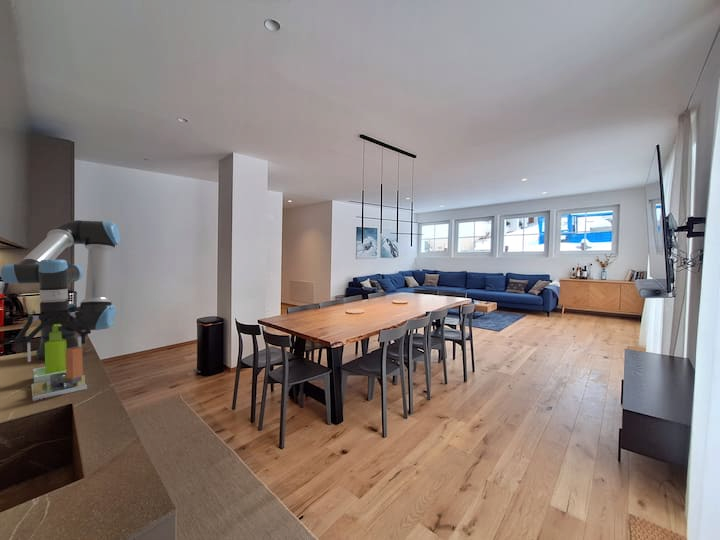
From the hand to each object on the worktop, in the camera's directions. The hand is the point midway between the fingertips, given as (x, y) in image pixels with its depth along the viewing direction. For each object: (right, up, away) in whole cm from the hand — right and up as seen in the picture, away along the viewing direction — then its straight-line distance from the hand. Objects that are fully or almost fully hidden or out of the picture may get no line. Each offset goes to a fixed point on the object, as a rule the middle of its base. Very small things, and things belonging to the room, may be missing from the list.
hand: (55, 356), depth 116 cm
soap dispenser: (0, -8, 0) cm, 8 cm away
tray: (0, -8, 0) cm, 8 cm away
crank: (+13, -7, -9) cm, 18 cm away
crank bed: (+10, -9, -9) cm, 16 cm away
